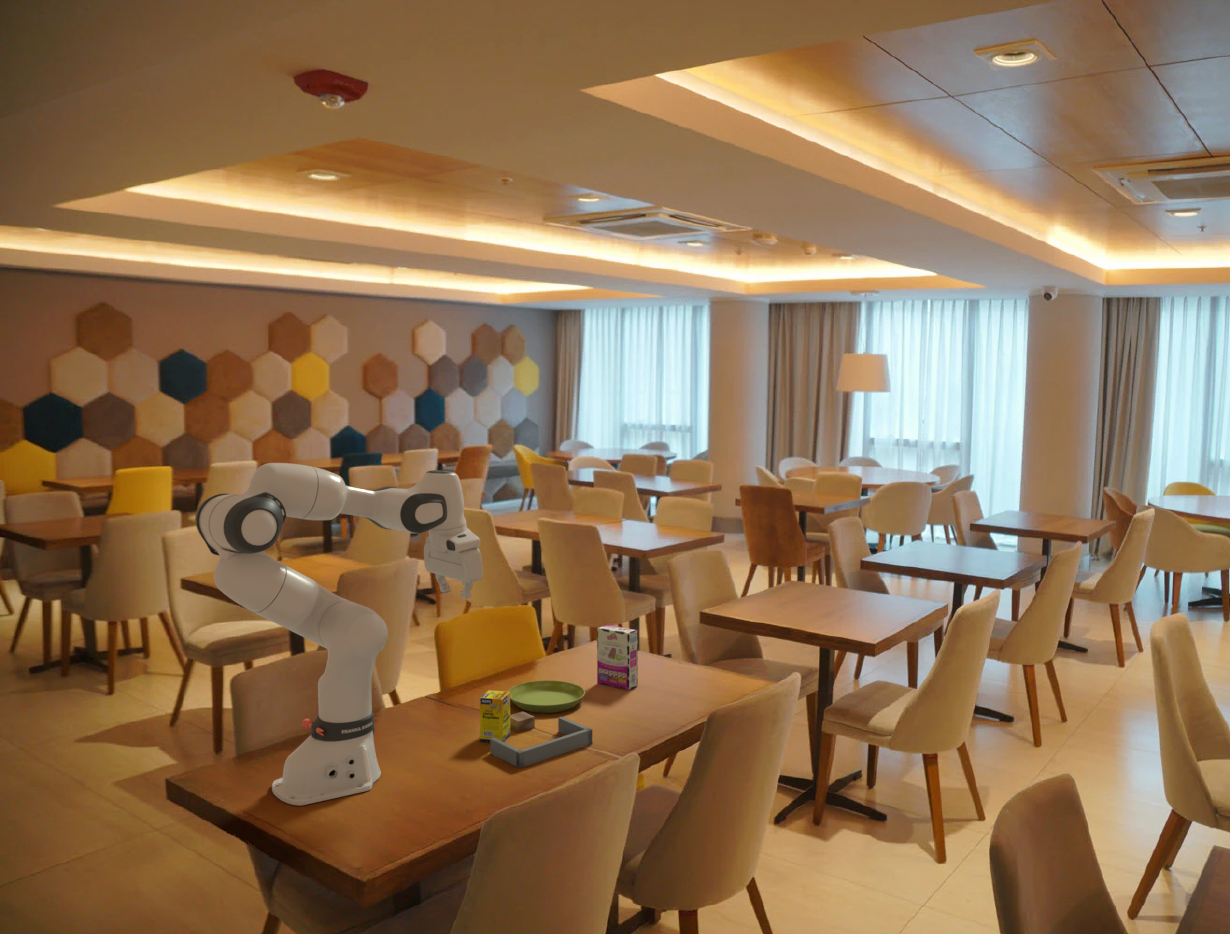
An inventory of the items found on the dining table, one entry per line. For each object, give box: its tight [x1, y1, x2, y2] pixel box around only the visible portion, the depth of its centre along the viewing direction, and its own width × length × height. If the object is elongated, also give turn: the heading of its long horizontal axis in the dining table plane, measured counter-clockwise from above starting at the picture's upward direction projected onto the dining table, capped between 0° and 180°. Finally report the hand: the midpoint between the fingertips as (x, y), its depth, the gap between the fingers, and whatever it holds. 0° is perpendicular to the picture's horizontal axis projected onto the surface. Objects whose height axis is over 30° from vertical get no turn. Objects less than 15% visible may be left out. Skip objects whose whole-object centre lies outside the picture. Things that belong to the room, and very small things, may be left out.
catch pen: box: [489, 716, 593, 769], centre depth 220 cm, size 21×11×4 cm, turn 132°
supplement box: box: [479, 689, 511, 743], centre depth 226 cm, size 6×6×11 cm
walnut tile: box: [510, 711, 536, 733], centre depth 233 cm, size 5×5×3 cm
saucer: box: [507, 679, 586, 714], centre depth 252 cm, size 21×21×3 cm
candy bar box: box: [596, 624, 639, 691], centre depth 266 cm, size 11×5×16 cm, turn 55°
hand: (455, 594), depth 220 cm, fingers open, 8 cm apart
